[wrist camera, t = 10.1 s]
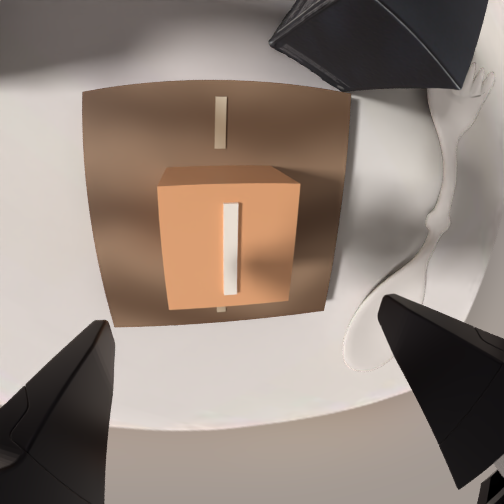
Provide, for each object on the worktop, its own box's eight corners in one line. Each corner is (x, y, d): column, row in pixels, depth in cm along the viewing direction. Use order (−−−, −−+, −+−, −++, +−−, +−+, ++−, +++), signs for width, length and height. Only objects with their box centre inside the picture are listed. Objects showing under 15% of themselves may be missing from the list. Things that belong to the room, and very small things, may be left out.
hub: (265, 257, 19) (289, 302, 15) (172, 262, 18) (168, 312, 14) (270, 165, 17) (302, 184, 12) (166, 167, 16) (156, 187, 11)
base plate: (90, 93, 14) (62, 87, 10) (340, 94, 17) (378, 91, 13) (117, 315, 21) (107, 355, 17) (316, 300, 24) (339, 334, 20)
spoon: (473, 72, 18) (499, 74, 15) (387, 352, 30) (402, 371, 27) (410, 27, 15) (438, 21, 12) (322, 360, 28) (335, 384, 25)
